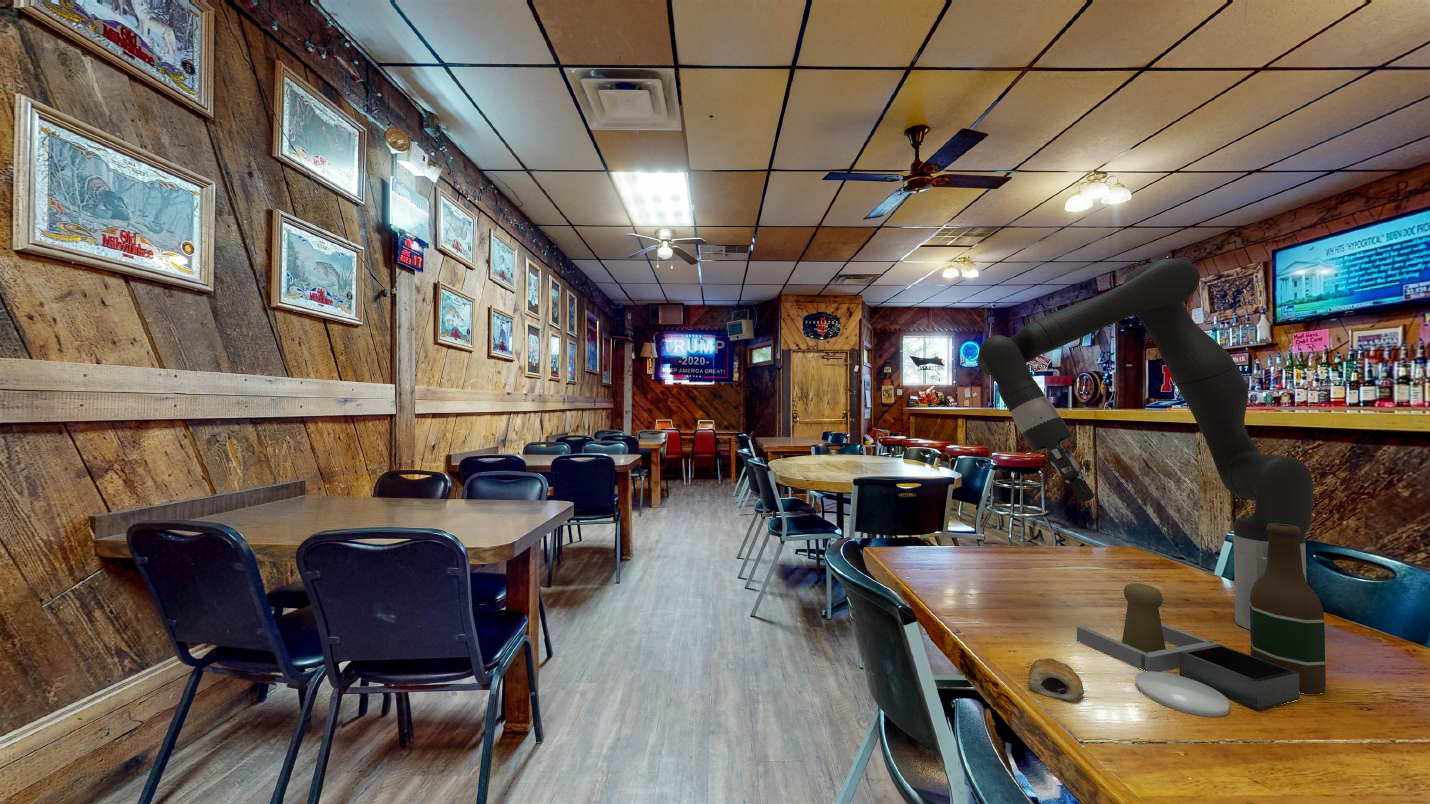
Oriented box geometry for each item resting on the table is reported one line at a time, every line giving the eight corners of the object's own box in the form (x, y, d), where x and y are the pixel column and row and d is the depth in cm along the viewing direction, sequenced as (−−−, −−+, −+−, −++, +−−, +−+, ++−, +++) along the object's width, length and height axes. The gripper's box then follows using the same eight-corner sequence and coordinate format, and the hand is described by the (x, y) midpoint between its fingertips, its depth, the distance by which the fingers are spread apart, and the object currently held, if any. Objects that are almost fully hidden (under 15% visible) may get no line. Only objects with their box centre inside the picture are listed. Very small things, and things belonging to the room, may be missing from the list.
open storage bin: (1219, 669, 81) (1219, 644, 81) (1299, 700, 72) (1299, 672, 72) (1179, 677, 78) (1179, 651, 78) (1257, 711, 69) (1257, 682, 69)
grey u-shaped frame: (1142, 629, 95) (1142, 616, 95) (1219, 659, 84) (1219, 644, 84) (1076, 640, 91) (1076, 626, 91) (1149, 673, 79) (1149, 657, 79)
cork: (1175, 659, 84) (1174, 592, 84) (1134, 655, 85) (1133, 590, 85) (1152, 642, 90) (1151, 581, 90) (1113, 639, 91) (1113, 578, 91)
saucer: (1165, 673, 79) (1165, 667, 79) (1247, 709, 70) (1247, 702, 70) (1118, 683, 76) (1118, 676, 76) (1198, 722, 67) (1197, 714, 67)
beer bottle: (1317, 702, 71) (1313, 533, 72) (1241, 676, 78) (1238, 522, 79) (1334, 688, 75) (1330, 527, 76) (1260, 665, 82) (1257, 517, 82)
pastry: (1030, 666, 82) (1030, 643, 82) (1081, 679, 78) (1081, 654, 78) (1028, 693, 74) (1028, 667, 74) (1085, 709, 70) (1085, 681, 70)
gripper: (1056, 411, 94) (1110, 493, 88) (1062, 418, 105) (1110, 491, 99) (1015, 430, 97) (1064, 509, 91) (1025, 434, 109) (1069, 505, 102)
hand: (1088, 499), depth 95 cm, fingers open, 8 cm apart
